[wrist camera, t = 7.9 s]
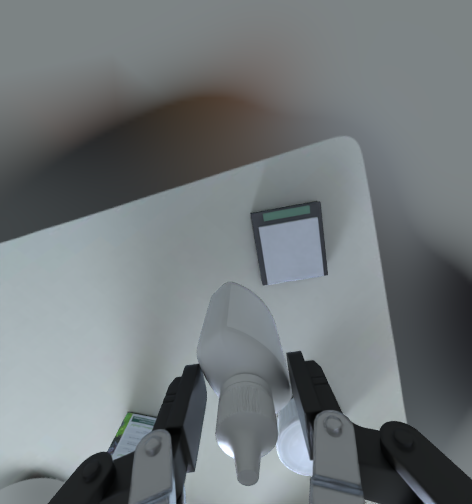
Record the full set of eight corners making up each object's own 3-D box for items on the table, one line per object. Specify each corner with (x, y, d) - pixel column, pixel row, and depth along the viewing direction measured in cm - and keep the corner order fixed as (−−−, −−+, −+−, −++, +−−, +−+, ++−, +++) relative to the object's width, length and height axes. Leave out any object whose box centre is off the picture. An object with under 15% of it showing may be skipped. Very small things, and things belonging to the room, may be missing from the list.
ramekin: (334, 444, 42) (347, 479, 37) (270, 441, 42) (274, 475, 37) (343, 389, 39) (358, 418, 34) (274, 386, 40) (279, 415, 34)
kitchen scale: (250, 213, 34) (251, 214, 31) (315, 201, 33) (321, 201, 30) (261, 280, 36) (263, 287, 33) (323, 270, 35) (329, 276, 33)
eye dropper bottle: (261, 271, 19) (294, 392, 7) (278, 333, 20) (330, 526, 8) (207, 284, 19) (156, 423, 7) (227, 346, 20) (209, 547, 9)
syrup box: (161, 417, 41) (119, 531, 27) (156, 444, 43) (114, 566, 29) (128, 410, 41) (68, 522, 27) (124, 438, 43) (66, 557, 28)
